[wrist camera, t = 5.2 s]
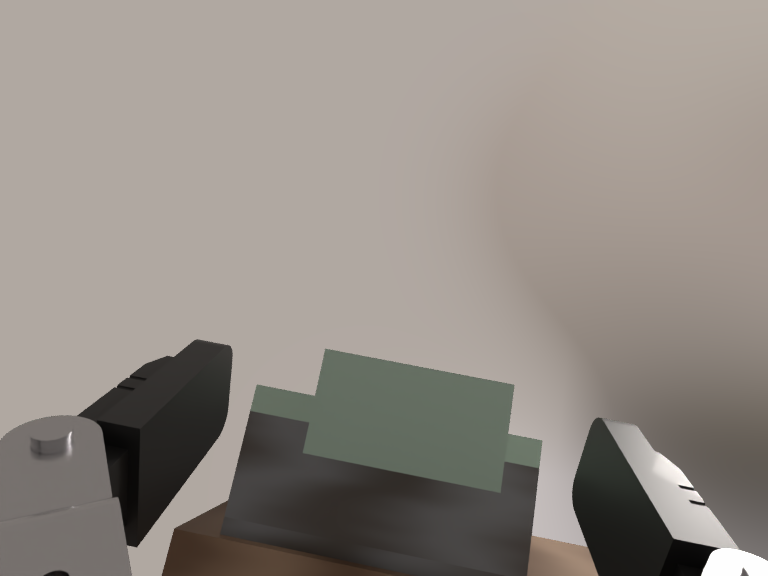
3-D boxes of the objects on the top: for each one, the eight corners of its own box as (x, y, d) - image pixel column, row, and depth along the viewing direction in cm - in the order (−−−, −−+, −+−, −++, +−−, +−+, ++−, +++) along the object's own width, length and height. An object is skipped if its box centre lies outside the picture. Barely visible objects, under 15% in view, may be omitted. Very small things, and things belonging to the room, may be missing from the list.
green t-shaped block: (28, 469, 8) (83, 302, 8) (294, 430, 30) (304, 385, 31) (776, 626, 7) (777, 435, 8) (482, 467, 30) (488, 421, 30)
